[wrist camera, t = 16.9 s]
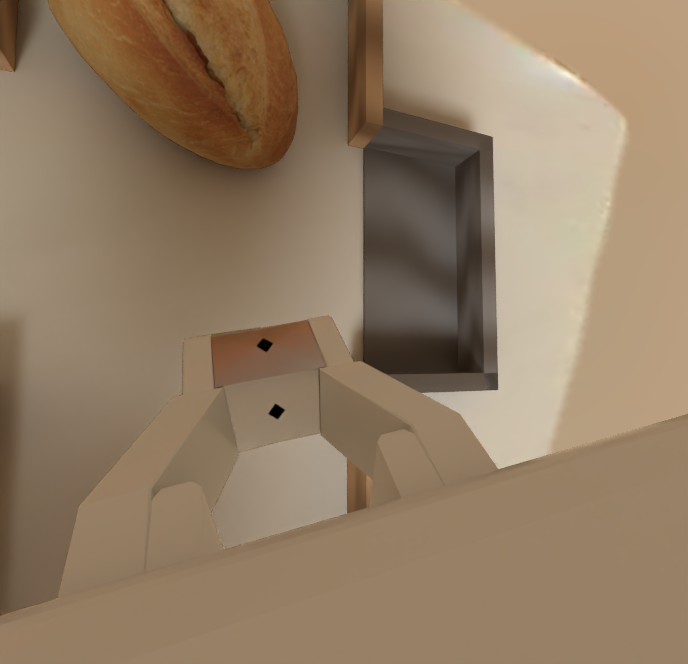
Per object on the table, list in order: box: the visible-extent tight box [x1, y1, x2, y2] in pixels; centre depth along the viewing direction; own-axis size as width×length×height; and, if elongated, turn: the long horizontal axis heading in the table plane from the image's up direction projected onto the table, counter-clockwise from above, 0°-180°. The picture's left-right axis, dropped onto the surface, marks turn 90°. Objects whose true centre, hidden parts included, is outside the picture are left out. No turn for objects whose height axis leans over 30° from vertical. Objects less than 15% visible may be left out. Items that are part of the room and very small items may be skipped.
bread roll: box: [48, 0, 298, 168], centre depth 20 cm, size 10×15×8 cm, turn 48°
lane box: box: [0, 0, 498, 514], centre depth 21 cm, size 47×39×5 cm
